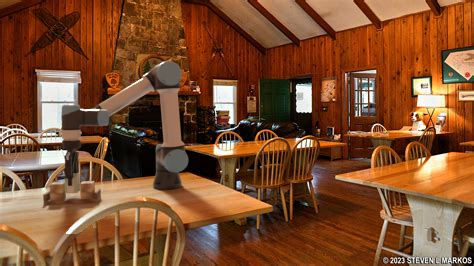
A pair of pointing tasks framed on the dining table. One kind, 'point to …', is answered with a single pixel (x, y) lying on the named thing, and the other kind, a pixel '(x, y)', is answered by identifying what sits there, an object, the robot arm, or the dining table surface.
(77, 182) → the beige rectangular block
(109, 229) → the dining table surface
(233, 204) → the dining table surface
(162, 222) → the dining table surface
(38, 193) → the dining table surface
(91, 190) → the cradle
